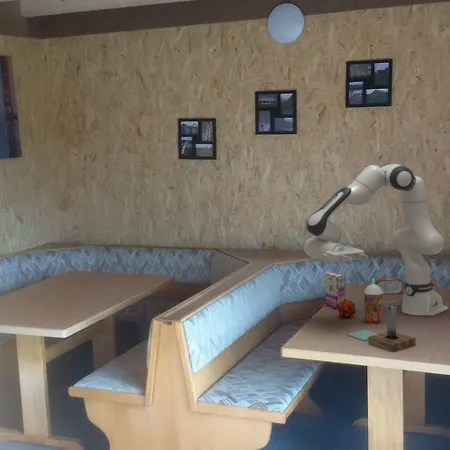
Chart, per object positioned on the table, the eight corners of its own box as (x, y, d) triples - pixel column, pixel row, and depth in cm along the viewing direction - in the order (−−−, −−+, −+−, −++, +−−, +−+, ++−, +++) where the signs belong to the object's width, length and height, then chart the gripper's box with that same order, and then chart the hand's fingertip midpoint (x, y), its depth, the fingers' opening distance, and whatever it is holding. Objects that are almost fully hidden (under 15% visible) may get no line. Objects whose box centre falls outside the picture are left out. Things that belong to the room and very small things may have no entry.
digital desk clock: (402, 292, 348) (402, 276, 347) (404, 294, 345) (404, 278, 344) (374, 294, 347) (374, 278, 346) (375, 295, 344) (375, 279, 343)
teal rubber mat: (364, 330, 285) (364, 329, 285) (381, 336, 277) (381, 335, 277) (347, 335, 279) (347, 334, 279) (364, 341, 271) (364, 340, 271)
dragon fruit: (349, 315, 314) (346, 326, 303) (335, 305, 315) (331, 315, 304) (360, 302, 311) (357, 313, 300) (345, 292, 312) (341, 302, 301)
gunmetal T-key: (394, 341, 269) (394, 299, 267) (401, 343, 266) (401, 300, 264) (382, 345, 265) (382, 302, 263) (389, 347, 262) (388, 303, 260)
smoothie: (360, 322, 298) (360, 278, 295) (370, 318, 304) (369, 275, 301) (377, 325, 292) (376, 281, 289) (386, 321, 298) (386, 277, 295)
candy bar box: (346, 308, 321) (345, 275, 319) (337, 310, 319) (336, 276, 317) (333, 303, 331) (333, 271, 329) (325, 305, 329) (324, 272, 327)
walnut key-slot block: (390, 337, 275) (390, 330, 274) (415, 345, 264) (415, 337, 263) (368, 344, 267) (368, 336, 267) (393, 352, 257) (393, 344, 256)
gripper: (319, 247, 284) (344, 253, 274) (349, 244, 297) (374, 249, 287) (317, 262, 285) (342, 268, 275) (348, 258, 298) (373, 264, 288)
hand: (359, 258), depth 281 cm, fingers open, 8 cm apart
